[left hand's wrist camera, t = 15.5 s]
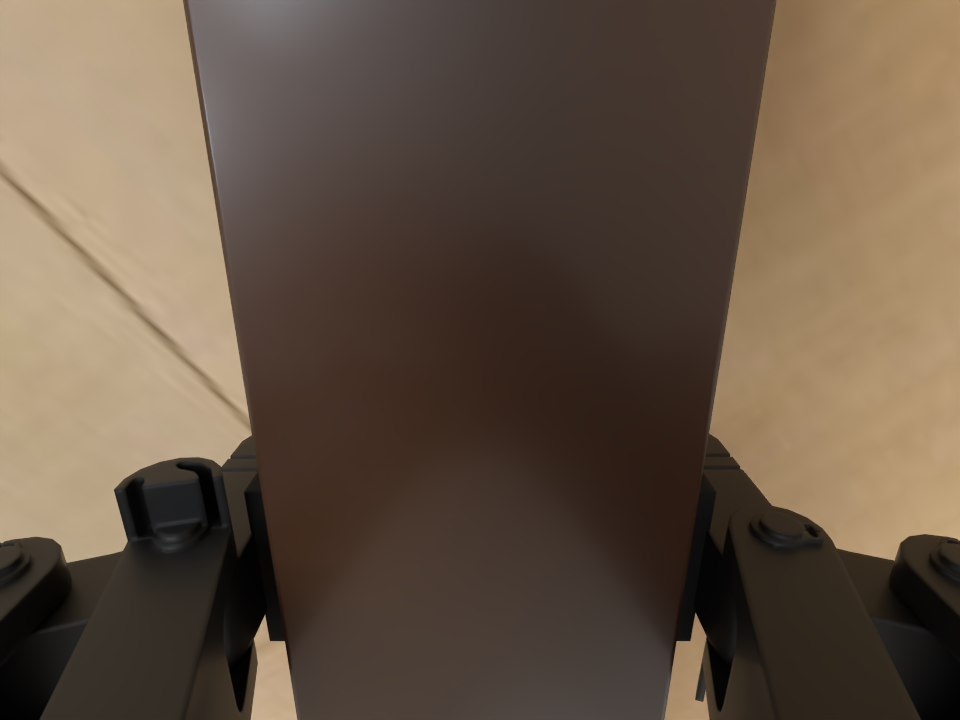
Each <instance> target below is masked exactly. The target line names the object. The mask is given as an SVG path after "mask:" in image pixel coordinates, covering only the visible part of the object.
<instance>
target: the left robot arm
mask: <svg viewBox="0 0 960 720" xmlns="http://www.w3.org/2000/svg"><path fill="white" fill-rule="evenodd" d="M114 492H115V495H116V499H117V503H118V506H119V510H120V514H121V517H122V521H123V525H124V528H125V532H126V536H127V539H128V542H127V544H126V546H125V548H124V550H123V551H122V552H118V553H114V554H110V555H105V556H100V557H95V558H90V559H85V560H80V561H75V562H70V563H66V560H65V557H64V554H63V551H62V548H61V546H60V545H59V544H58V543H57V542H55V541H54V540H53V539H48V538H41V537H31V538H23V539H14V540H10V541H5V542H4V543H0V720H251V712H252V704H253V696H254V688H255V680H256V673H257V665H258V662H257V654H256V648H255V643H254V637H255V635H256V633H257V631H258V628H259V626H260V624H261V622H262V620H263V618H264V615H266V621H267V627H268V632H269V638H270V641H285V638H284V631H283V625H282V619H281V612H280V606H279V600H278V594H277V587H276V581H275V575H274V568H273V562H272V556H271V550H270V543H269V537H268V531H267V524H266V518H265V512H264V506H263V499H262V493H261V487H260V480H259V474H258V468H257V462H256V455H255V449H254V443H253V436H250V437H249V438H247V439H245V440H244V441H242V443H241V444H240V445H239V446H238V448H237V449H236V450H235V451H234V453H233V454H232V455H231V459H228V460H227V461H226V462H225V464H224V465H223V466H222V467H221V466H219V465H218V464H217V463H215V462H214V461H213V460H208V459H204V458H199V457H196V458H178V459H173V460H168V461H163V462H159V463H156V464H154V465H151V466H148V467H146V468H143V469H140V470H139V471H137V472H135V473H134V474H132V475H130V476H129V477H127V478H125V479H124V480H123V481H122V482H121V483H120V484H119V485H118V486H117V487H116V488H115V489H114ZM695 612H696V614H697V616H698V618H699V621H700V623H701V625H702V627H703V629H704V631H705V633H706V636H707V637H706V643H705V648H704V653H703V658H702V664H701V669H700V674H699V680H698V685H697V691H696V698H695V700H698V701H703V700H704V695H705V690H706V695H707V703H708V710H709V718H710V720H960V541H959V540H957V539H955V538H950V537H943V536H935V535H926V534H924V535H916V536H909V537H908V538H906V539H905V540H904V541H903V542H901V543H900V546H899V549H898V552H897V555H896V558H895V561H893V560H888V559H883V558H878V557H873V556H868V555H863V554H858V553H853V552H848V551H845V550H841V549H837V548H836V547H835V545H834V543H833V541H832V540H831V538H830V537H829V536H828V535H827V533H826V532H825V531H824V530H823V528H821V527H820V526H818V525H817V524H815V523H814V522H812V521H811V520H810V519H808V518H806V517H804V516H802V515H799V514H797V513H795V512H793V511H790V510H787V509H783V508H779V507H775V506H772V505H771V504H770V503H769V502H768V500H767V499H766V498H765V497H764V495H763V494H762V493H761V492H760V490H759V489H758V488H757V487H756V486H755V484H754V483H753V482H752V481H751V479H750V478H749V477H748V476H747V474H746V473H745V472H744V471H743V470H740V466H739V465H738V463H737V462H736V461H735V460H734V458H733V457H730V454H729V452H728V451H727V450H726V449H725V447H724V446H723V445H722V444H721V442H720V441H719V440H718V439H717V438H715V437H713V436H712V435H710V434H709V435H708V442H707V448H706V454H705V461H704V467H703V474H702V480H701V486H700V493H699V499H698V506H697V512H696V519H695V525H694V531H693V538H692V544H691V551H690V557H689V563H688V570H687V576H686V583H685V589H684V595H683V602H682V608H681V615H680V621H679V628H678V634H677V640H676V641H690V640H691V634H692V628H693V623H694V617H695Z"/></svg>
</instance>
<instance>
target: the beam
mask: <svg viewBox="0 0 960 720" xmlns="http://www.w3.org/2000/svg"><path fill="white" fill-rule="evenodd" d="M183 3H184V9H185V15H186V22H187V28H188V34H189V40H190V47H191V53H192V59H193V66H194V72H195V78H196V84H197V91H198V97H199V103H200V110H201V116H202V122H203V128H204V135H205V141H206V147H207V154H208V160H209V166H210V172H211V179H212V185H213V191H214V198H215V204H216V210H217V216H218V223H219V229H220V235H221V242H222V248H223V254H224V260H225V267H226V273H227V279H228V286H229V292H230V298H231V304H232V311H233V317H234V323H235V330H236V336H237V342H238V348H239V355H240V361H241V367H242V374H243V380H244V386H245V392H246V399H247V405H248V411H249V418H250V424H251V430H252V436H253V443H254V449H255V455H256V462H257V468H258V474H259V480H260V487H261V493H262V499H263V506H264V512H265V518H266V524H267V531H268V537H269V543H270V550H271V556H272V562H273V568H274V575H275V581H276V587H277V594H278V600H279V606H280V612H281V619H282V625H283V631H284V638H285V644H286V650H287V656H288V663H289V669H290V675H291V682H292V688H293V694H294V700H295V707H296V713H297V719H298V720H664V717H665V711H666V704H667V698H668V692H669V685H670V679H671V672H672V666H673V660H674V653H675V647H676V640H677V634H678V628H679V621H680V615H681V608H682V602H683V595H684V589H685V583H686V576H687V570H688V563H689V557H690V551H691V544H692V538H693V531H694V525H695V519H696V512H697V506H698V499H699V493H700V486H701V480H702V474H703V467H704V461H705V454H706V448H707V442H708V435H709V429H710V422H711V416H712V410H713V403H714V397H715V390H716V384H717V377H718V371H719V365H720V358H721V352H722V345H723V339H724V333H725V326H726V320H727V313H728V307H729V300H730V294H731V288H732V281H733V275H734V268H735V262H736V256H737V249H738V243H739V236H740V230H741V224H742V217H743V211H744V204H745V198H746V191H747V185H748V179H749V172H750V166H751V159H752V153H753V147H754V140H755V134H756V127H757V121H758V115H759V108H760V102H761V95H762V89H763V82H764V76H765V70H766V63H767V57H768V50H769V44H770V38H771V31H772V25H773V18H774V12H775V6H776V0H183Z"/></svg>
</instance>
